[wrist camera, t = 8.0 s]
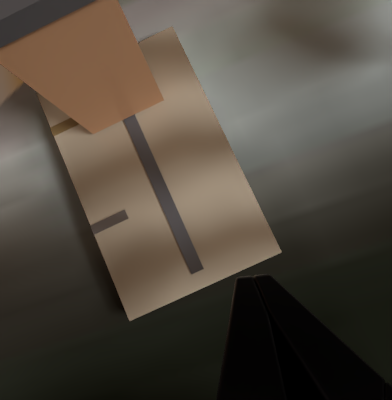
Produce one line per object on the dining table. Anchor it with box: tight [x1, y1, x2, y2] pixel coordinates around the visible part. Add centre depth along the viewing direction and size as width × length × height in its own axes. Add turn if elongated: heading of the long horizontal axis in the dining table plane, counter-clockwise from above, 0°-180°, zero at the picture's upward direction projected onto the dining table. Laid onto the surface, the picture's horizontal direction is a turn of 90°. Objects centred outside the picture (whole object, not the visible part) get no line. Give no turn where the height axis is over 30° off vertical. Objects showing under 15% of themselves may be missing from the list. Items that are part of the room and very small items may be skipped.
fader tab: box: [0, 0, 164, 134], centre depth 16 cm, size 4×6×11 cm, turn 114°
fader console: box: [36, 27, 281, 321], centre depth 22 cm, size 16×10×2 cm, turn 24°
